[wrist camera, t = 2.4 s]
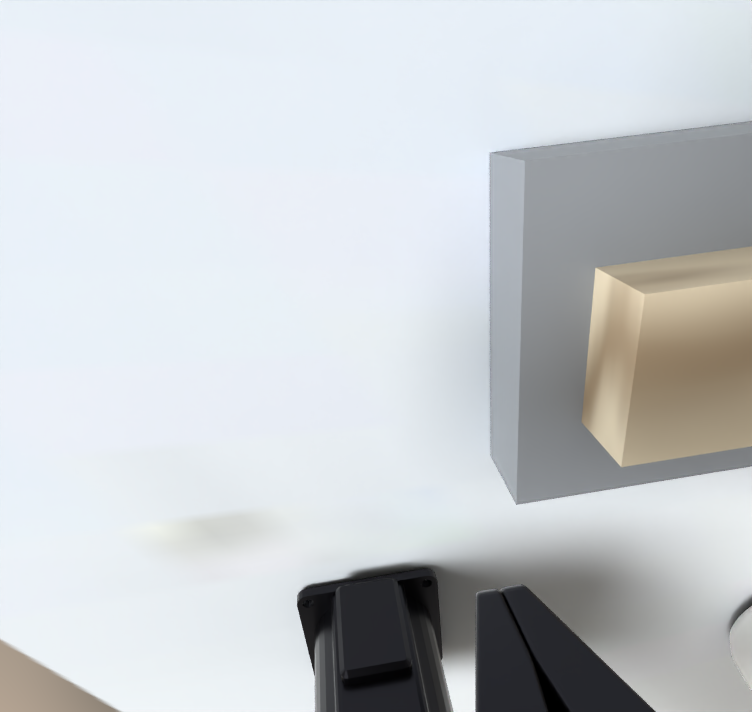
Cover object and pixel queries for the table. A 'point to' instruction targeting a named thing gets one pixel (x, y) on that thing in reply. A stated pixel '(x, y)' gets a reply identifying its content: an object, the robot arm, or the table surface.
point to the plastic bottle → (742, 645)
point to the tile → (671, 357)
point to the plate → (576, 284)
